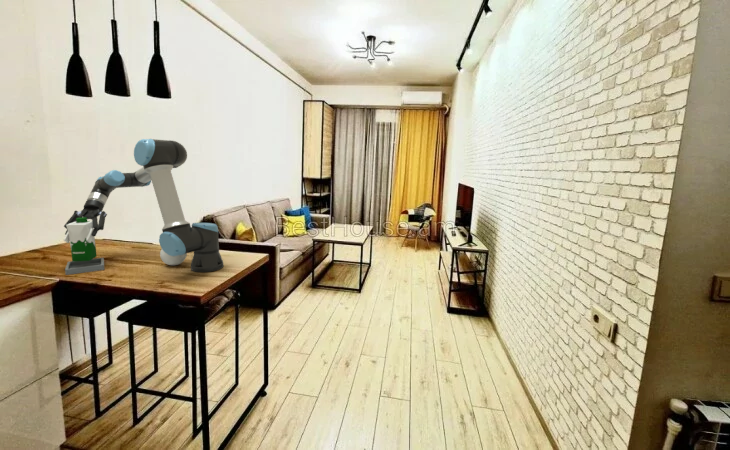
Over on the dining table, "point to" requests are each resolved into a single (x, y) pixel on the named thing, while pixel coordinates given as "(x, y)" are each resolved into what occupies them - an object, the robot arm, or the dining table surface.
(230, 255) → the dining table surface
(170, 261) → the decorative ball
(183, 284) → the dining table surface
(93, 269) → the holder tray
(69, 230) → the soya milk
